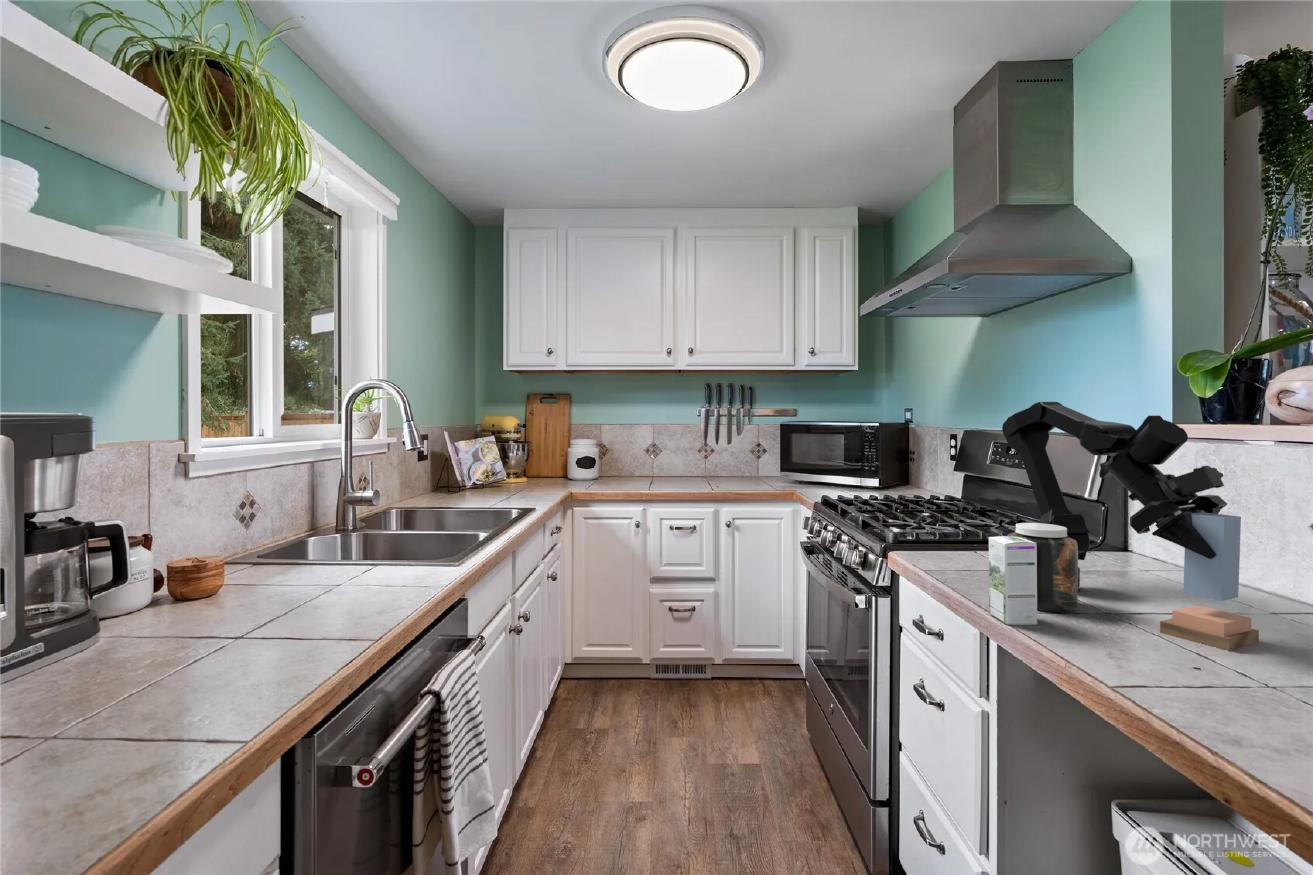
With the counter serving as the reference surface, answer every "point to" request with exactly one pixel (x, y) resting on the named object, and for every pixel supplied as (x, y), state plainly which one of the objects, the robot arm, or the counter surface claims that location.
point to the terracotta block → (1211, 620)
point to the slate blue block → (1221, 571)
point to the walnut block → (1209, 636)
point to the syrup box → (1013, 580)
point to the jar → (1053, 565)
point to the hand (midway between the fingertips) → (1222, 555)
